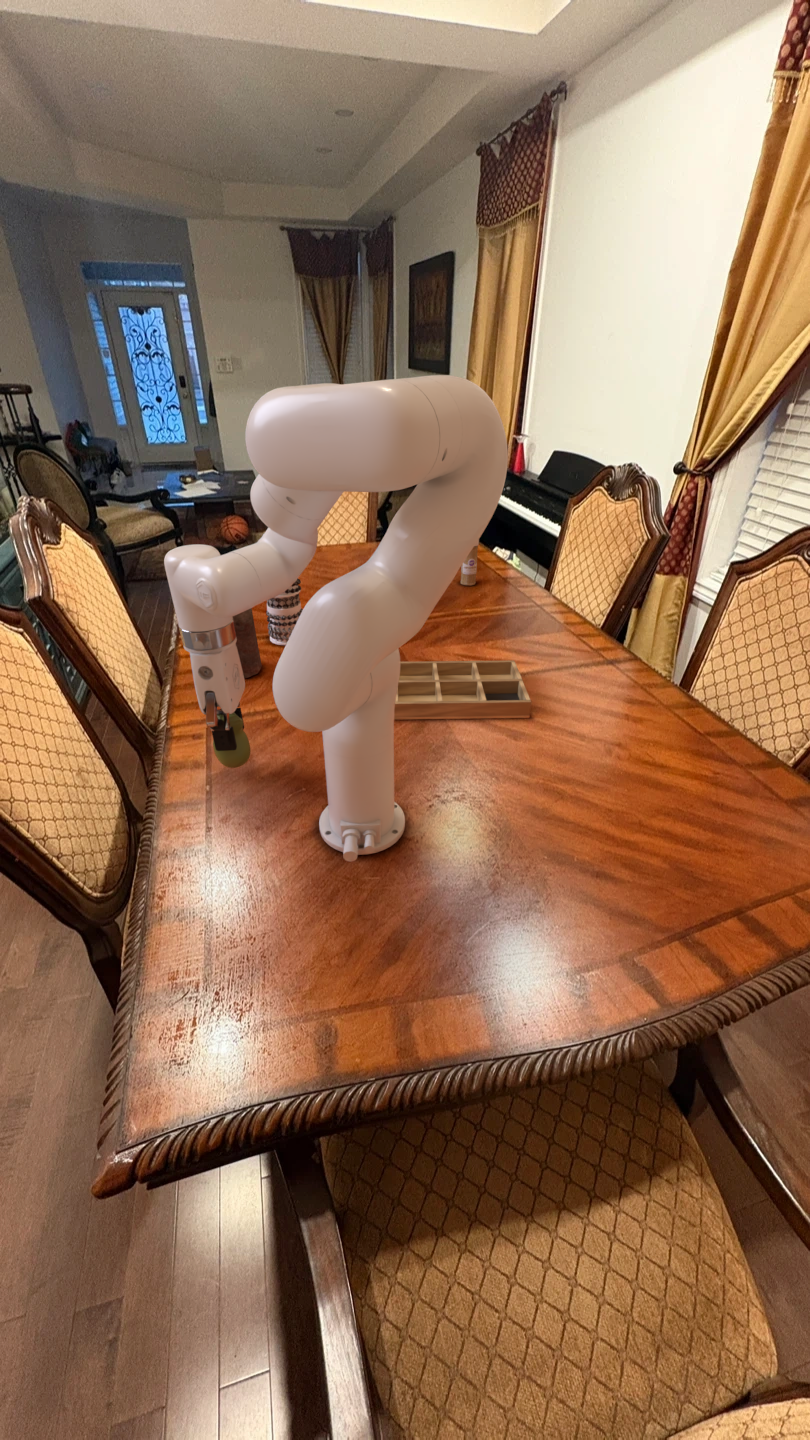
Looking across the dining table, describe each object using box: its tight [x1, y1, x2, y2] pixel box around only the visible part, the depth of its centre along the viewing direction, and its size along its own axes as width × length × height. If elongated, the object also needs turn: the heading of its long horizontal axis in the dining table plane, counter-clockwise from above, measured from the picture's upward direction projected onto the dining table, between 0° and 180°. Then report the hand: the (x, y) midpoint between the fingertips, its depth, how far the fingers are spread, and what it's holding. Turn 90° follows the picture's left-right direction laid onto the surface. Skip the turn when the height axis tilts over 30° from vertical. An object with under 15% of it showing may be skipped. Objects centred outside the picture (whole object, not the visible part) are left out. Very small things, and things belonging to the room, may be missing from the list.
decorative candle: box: [257, 533, 304, 646], centre depth 139 cm, size 9×9×25 cm
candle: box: [232, 608, 263, 679], centre depth 126 cm, size 8×7×20 cm
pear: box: [212, 712, 251, 769], centre depth 97 cm, size 6×5×10 cm
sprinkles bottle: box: [459, 538, 480, 587], centre depth 175 cm, size 5×5×14 cm
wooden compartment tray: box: [394, 659, 532, 721], centre depth 121 cm, size 17×26×4 cm
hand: (230, 738), depth 97 cm, fingers closed on pear, 5 cm apart
